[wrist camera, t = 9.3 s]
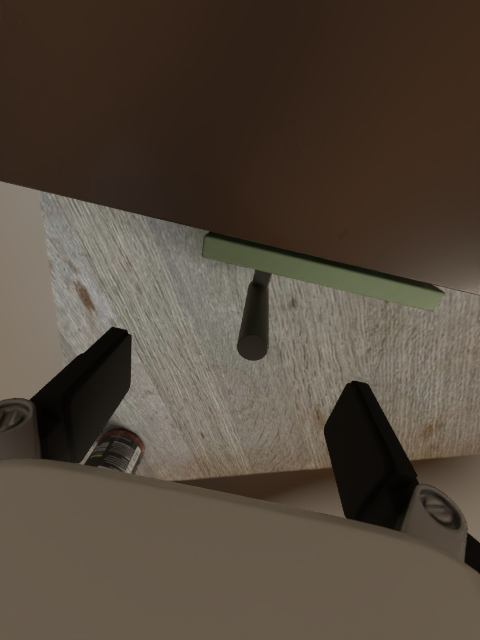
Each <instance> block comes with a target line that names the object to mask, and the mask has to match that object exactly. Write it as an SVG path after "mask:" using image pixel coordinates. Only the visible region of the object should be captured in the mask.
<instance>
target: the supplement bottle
mask: <svg viewBox="0 0 480 640" xmlns="http://www.w3.org/2000/svg"><path fill="white" fill-rule="evenodd" d="M144 449H145V447H144V444H143V442H142V441H141V440H140V438H138V437H137V436H136V435H134V434H133V433H130V432H128V431H125V430H112V431H109V432H107V433H106V434H104V436H103V437H102V438H101V440H100V441H99V443H98V444H97V446H96V447H95V449H94V450H93V452H92V453H91V455H90V456H89V458H88V459H87V461H86V462H85V464H84V465H87V466H93V467H98V468H104V469H109V470H115V471H120V472H125V473H130V474H135V473H136V470H137V468H138V466H139V464H140V461H141V459H142V456H143V454H144Z"/></svg>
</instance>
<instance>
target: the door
mask: <svg viewBox="0 0 480 640" xmlns="http://www.w3.org/2000/svg"><path fill="white" fill-rule="evenodd" d="M202 256H203V257H204V258H209V259H213V260H217V261H221V262H226V263H230V264H234V265H238V266H242V267H247V268H251V269H255V273H254V277H253V281H252V282H251V283H250V284H249V287H248V292H247V297H246V302H245V307H244V312H243V318H242V323H241V328H240V333H239V338H238V343H237V350H238V352H239V354H240V355H241V356H242V357H243V358H245V359H247V360H252V361H255V360H259V359H262V358H263V357H264V356H265V355H266V354H267V352H268V348H269V289H268V285H269V282H270V278H271V275H272V274H276V275H280V276H284V277H289V278H293V279H297V280H301V281H306V282H310V283H314V284H318V285H322V286H327V287H331V288H335V289H339V290H343V291H348V292H352V293H356V294H360V295H365V296H369V297H373V298H377V299H381V300H386V301H390V302H394V303H398V304H402V305H407V306H411V307H415V308H419V309H423V310H428V311H435V310H436V308H437V306H438V305H439V303H440V302H441V300H442V299H443V297H444V295H445V293H444V292H443V291H442V290H440V289H438V288H437V287H435V286H433V285H432V284H429V283H425V282H421V281H416V280H412V279H408V278H404V277H400V276H395V275H391V274H387V273H383V272H379V271H374V270H370V269H366V268H362V267H358V266H354V265H349V264H345V263H341V262H337V261H333V260H328V259H324V258H320V257H316V256H312V255H307V254H303V253H299V252H295V251H291V250H287V249H282V248H278V247H274V246H270V245H266V244H261V243H257V242H253V241H249V240H245V239H240V238H236V237H232V236H228V235H224V234H220V233H215V232H211V231H210V232H209V233H208V234H206V235H205V237H204V242H203V249H202Z"/></svg>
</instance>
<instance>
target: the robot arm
mask: <svg viewBox="0 0 480 640" xmlns="http://www.w3.org/2000/svg"><path fill="white" fill-rule="evenodd" d="M131 342H132V337H131V335H130V334H128V331H127V330H124V329H120V328H115V327H112V328H110V329H109V330H108V331H107V332H106V333H105V334H104V335H103V336H102V337H101V338H100V339H98V340H97V341H96V342H95V343H94V344H93V345H92V346H91V347H90V348H89V349H88V350H87V351H86V352H84V353H82V354H80V355H78V356H77V357H76V358H75V359H74V360H73V361H72V362H71V363H69V364H68V365H67V366H66V367H65V368H64V369H63V370H62V371H61V372H60V373H58V375H56V376H55V377H54V378H53V379H52V380H51V381H50V382H49V383H48V384H46V385H45V386H44V387H43V388H42V389H41V390H40V391H39V392H38V393H37V394H36V395H35V396H33V397H32V398H31V399H30V400H27V399H24V398H13V399H6V400H2V401H0V640H480V543H479V542H478V541H477V540H476V539H474V538H473V537H472V536H471V535H470V534H468V533H467V530H468V528H467V522H466V519H465V517H464V515H463V513H462V512H461V510H460V509H459V507H458V506H457V505H456V504H455V503H454V502H453V501H452V499H451V498H449V497H448V496H447V495H446V494H445V493H444V492H442V491H440V490H439V489H437V488H435V487H433V486H431V485H428V484H419V482H418V480H417V479H416V477H417V474H416V472H415V470H414V469H413V466H412V465H411V463H410V461H409V459H408V457H407V455H406V453H405V451H404V450H403V448H402V446H401V444H400V442H399V440H398V438H397V437H396V435H395V433H394V431H393V429H392V427H391V425H390V424H389V422H388V420H387V418H386V416H385V414H384V412H383V411H382V409H381V407H380V405H379V403H378V401H377V399H376V398H375V396H374V394H373V392H372V390H371V388H370V386H369V385H368V384H367V383H363V382H358V381H352V382H351V383H347V384H346V386H345V388H344V390H343V392H342V394H341V395H340V397H339V399H338V401H337V403H336V405H335V407H334V409H333V411H332V413H331V414H330V416H329V418H328V420H327V422H326V424H325V426H324V435H325V439H326V443H327V447H328V451H329V455H330V459H331V463H332V467H333V471H334V475H335V479H336V483H337V487H338V491H339V495H340V499H341V503H342V507H343V511H344V515H345V517H346V518H347V519H346V518H342V517H337V516H333V515H328V514H323V513H318V512H314V511H309V510H305V509H300V508H295V507H291V506H286V505H281V504H276V503H272V502H267V501H262V500H257V499H253V498H248V497H243V496H238V495H233V494H229V493H224V492H219V491H214V490H209V489H204V488H199V487H194V486H189V485H185V484H180V483H174V482H170V481H165V480H160V479H155V478H150V477H145V476H140V475H135V474H130V473H125V472H120V471H115V470H109V469H104V468H98V467H93V466H87V465H82V464H76V463H80V462H81V461H82V460H83V459H84V457H85V455H86V454H87V452H88V451H89V449H90V448H91V446H92V445H93V443H94V442H95V440H96V439H97V437H98V436H99V434H100V433H101V431H102V430H103V428H104V427H105V425H106V424H107V422H108V421H109V419H110V418H111V416H112V415H113V413H114V412H115V410H116V409H117V407H118V406H119V404H120V402H121V401H122V399H123V398H124V396H125V395H126V393H127V392H128V390H129V388H130V383H131Z"/></svg>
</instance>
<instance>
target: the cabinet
mask: <svg viewBox="0 0 480 640" xmlns="http://www.w3.org/2000/svg"><path fill="white" fill-rule="evenodd" d="M0 181H2V182H6V183H10V184H15V185H19V186H23V187H27V188H31V189H36V190H40V191H44V192H48V193H52V194H56V195H60V196H65V197H69V198H73V199H77V200H81V201H86V202H90V203H94V204H98V205H102V206H107V207H111V208H115V209H119V210H123V211H127V212H132V213H136V214H140V215H144V216H148V217H153V218H157V219H161V220H165V221H169V222H173V223H178V224H182V225H186V226H190V227H194V228H199V229H203V230H207V231H211V232H215V233H220V234H224V235H228V236H232V237H236V238H240V239H245V240H249V241H253V242H257V243H261V244H266V245H270V246H274V247H278V248H282V249H287V250H291V251H295V252H299V253H303V254H307V255H312V256H316V257H320V258H324V259H328V260H333V261H337V262H341V263H345V264H349V265H354V266H358V267H362V268H366V269H370V270H374V271H379V272H383V273H387V274H391V275H395V276H400V277H404V278H408V279H412V280H416V281H421V282H425V283H429V284H433V285H437V286H441V287H446V288H450V289H454V290H458V291H462V292H467V293H471V294H475V295H479V296H480V0H0Z"/></svg>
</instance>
